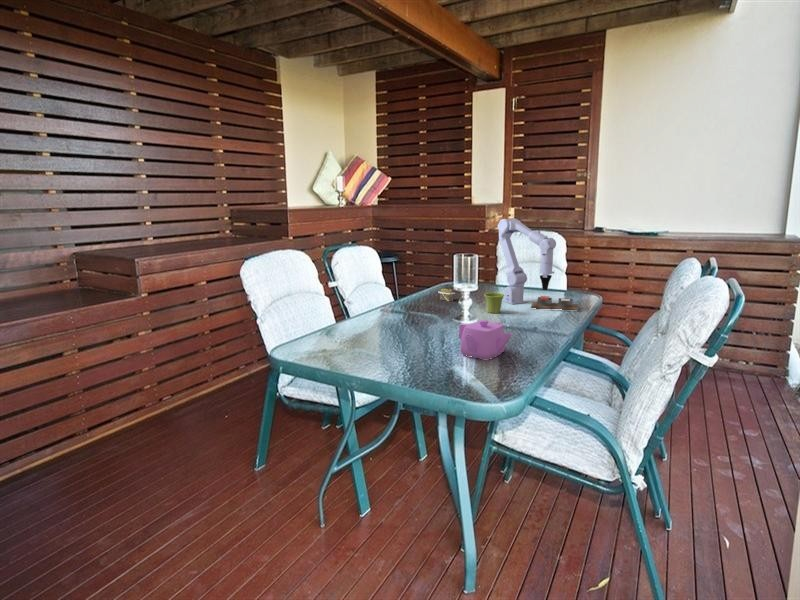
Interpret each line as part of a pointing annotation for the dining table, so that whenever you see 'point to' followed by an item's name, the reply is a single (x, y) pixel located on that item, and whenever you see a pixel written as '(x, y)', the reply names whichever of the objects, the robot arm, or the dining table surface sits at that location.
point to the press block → (554, 304)
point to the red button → (544, 297)
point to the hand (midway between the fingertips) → (545, 289)
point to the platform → (446, 294)
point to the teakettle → (483, 339)
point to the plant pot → (493, 302)
